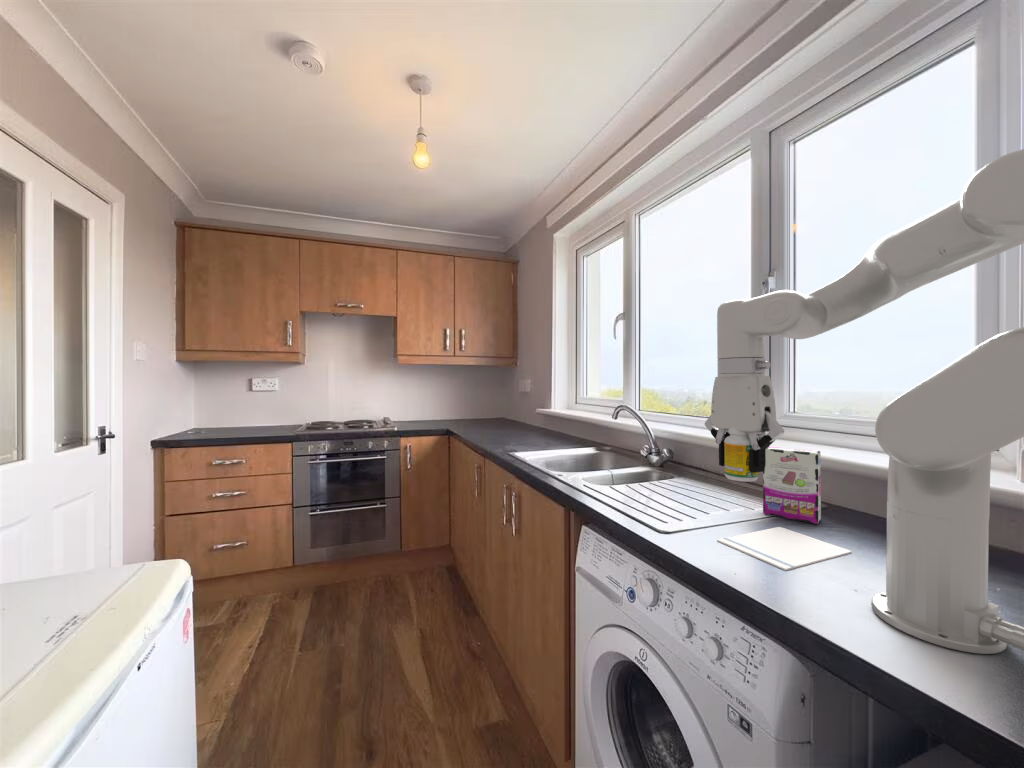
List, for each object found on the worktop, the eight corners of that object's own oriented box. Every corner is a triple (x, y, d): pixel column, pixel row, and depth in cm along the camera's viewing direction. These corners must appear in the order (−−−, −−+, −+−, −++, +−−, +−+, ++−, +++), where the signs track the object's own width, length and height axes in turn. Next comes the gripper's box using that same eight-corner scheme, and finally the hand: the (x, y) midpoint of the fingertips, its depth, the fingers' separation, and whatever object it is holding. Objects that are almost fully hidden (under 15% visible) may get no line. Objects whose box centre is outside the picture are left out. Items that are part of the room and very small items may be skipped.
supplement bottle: (733, 473, 78) (733, 423, 78) (764, 479, 73) (763, 426, 73) (718, 477, 75) (718, 425, 75) (749, 483, 70) (748, 428, 70)
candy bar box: (821, 519, 96) (821, 450, 96) (818, 525, 93) (819, 453, 92) (766, 509, 104) (767, 445, 104) (762, 514, 100) (762, 447, 100)
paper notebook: (851, 552, 78) (851, 550, 78) (785, 570, 71) (785, 568, 71) (779, 528, 91) (779, 526, 91) (717, 541, 84) (717, 539, 84)
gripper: (803, 367, 68) (803, 476, 68) (715, 370, 83) (715, 458, 83) (773, 366, 65) (773, 480, 65) (687, 370, 80) (688, 461, 80)
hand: (741, 467), depth 74 cm, fingers closed on supplement bottle, 5 cm apart
